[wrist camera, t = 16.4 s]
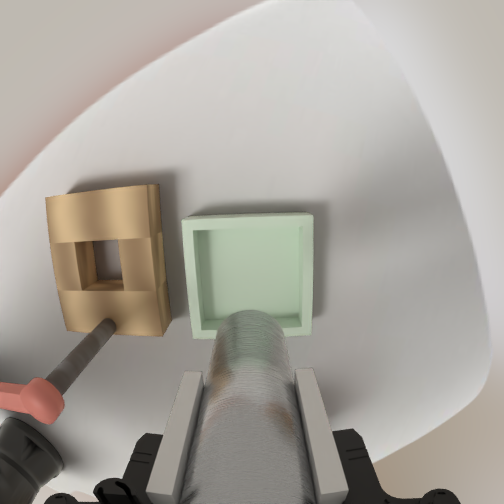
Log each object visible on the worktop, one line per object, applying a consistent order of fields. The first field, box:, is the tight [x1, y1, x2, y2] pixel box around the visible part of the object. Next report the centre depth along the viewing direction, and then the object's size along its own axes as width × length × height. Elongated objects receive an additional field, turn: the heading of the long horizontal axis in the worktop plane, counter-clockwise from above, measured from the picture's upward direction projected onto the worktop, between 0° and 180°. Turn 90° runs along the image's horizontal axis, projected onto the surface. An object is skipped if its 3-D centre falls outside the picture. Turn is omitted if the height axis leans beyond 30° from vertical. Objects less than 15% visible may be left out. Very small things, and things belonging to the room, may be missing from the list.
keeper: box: [0, 377, 65, 424], centre depth 17 cm, size 3×13×2 cm, turn 100°
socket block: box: [45, 184, 172, 396], centre depth 24 cm, size 12×15×17 cm
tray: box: [181, 212, 313, 339], centre depth 31 cm, size 12×12×4 cm
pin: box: [180, 310, 316, 504], centre depth 10 cm, size 5×5×15 cm
